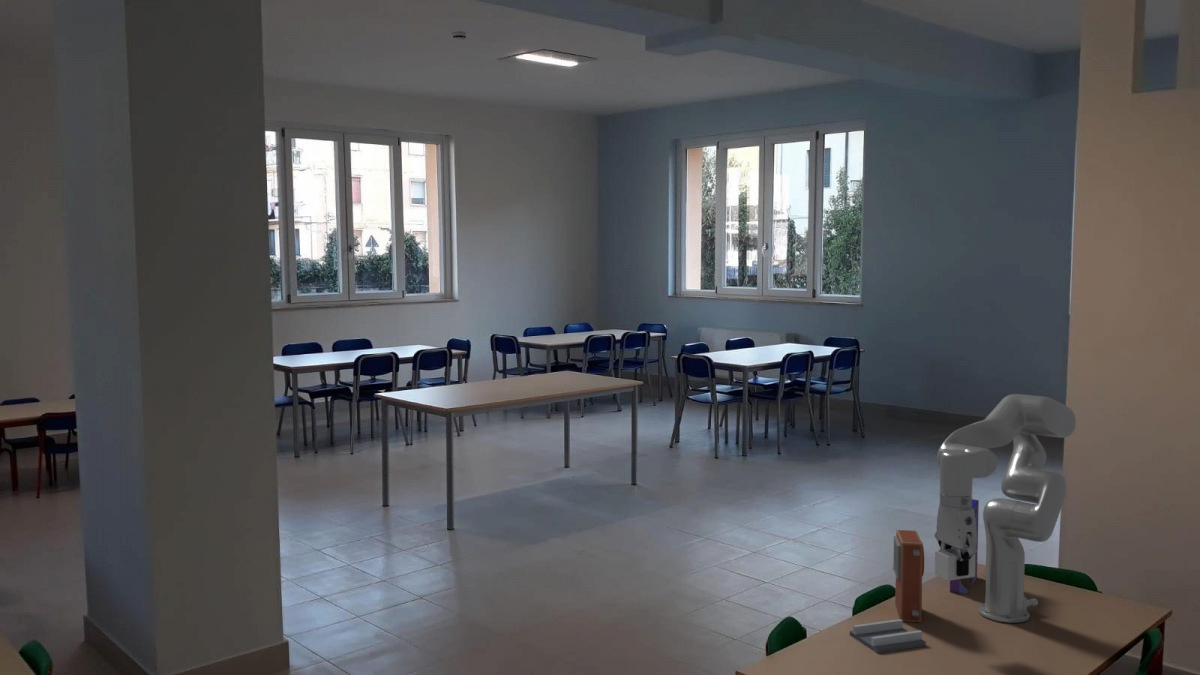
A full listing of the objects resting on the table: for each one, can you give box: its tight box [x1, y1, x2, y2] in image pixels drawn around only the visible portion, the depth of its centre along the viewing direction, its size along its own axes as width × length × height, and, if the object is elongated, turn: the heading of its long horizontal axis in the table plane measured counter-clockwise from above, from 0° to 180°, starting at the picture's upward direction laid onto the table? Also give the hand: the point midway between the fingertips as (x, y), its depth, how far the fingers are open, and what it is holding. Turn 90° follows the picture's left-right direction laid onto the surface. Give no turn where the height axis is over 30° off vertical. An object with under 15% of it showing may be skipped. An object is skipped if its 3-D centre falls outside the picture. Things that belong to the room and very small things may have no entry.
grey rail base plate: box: [849, 618, 927, 654], centre depth 236 cm, size 14×12×3 cm
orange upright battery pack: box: [892, 529, 925, 623], centre depth 253 cm, size 21×7×15 cm
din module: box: [934, 548, 975, 582], centre depth 233 cm, size 8×5×6 cm, turn 107°
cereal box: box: [949, 498, 980, 596], centre depth 276 cm, size 17×5×24 cm, turn 149°
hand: (954, 571), depth 233 cm, fingers closed on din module, 5 cm apart
